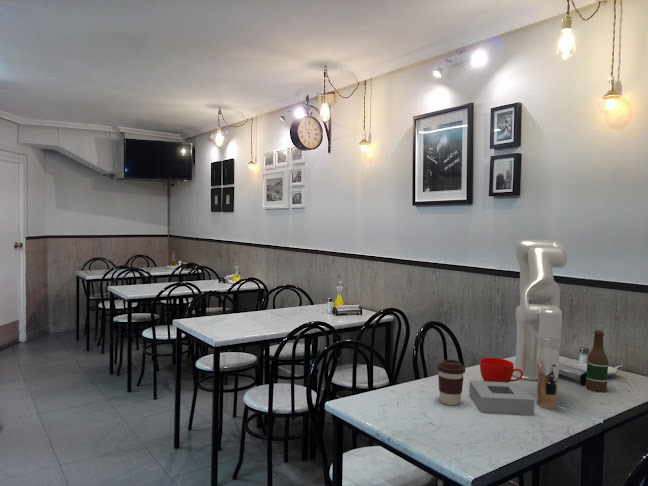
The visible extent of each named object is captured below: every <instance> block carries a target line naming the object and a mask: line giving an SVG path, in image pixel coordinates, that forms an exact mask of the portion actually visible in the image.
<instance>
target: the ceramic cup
mask: <svg viewBox="0 0 648 486" xmlns="http://www.w3.org/2000/svg"><path fill="white" fill-rule="evenodd" d="M514 367H515V364H514V362H513V361H510V360H507V359H504V358H497V357H484V358H481V359H480V361H479V369H480V376H481V378H482V380H483V381H486V382H507V383H514V382H517V381H519V380H521V378H522V377H523V372H522V370H520V369H515V368H514ZM514 371H520V372H521V376H520V377H519V378H515V379H512V377H513V375H512V374H513V372H514Z"/></svg>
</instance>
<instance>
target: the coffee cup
mask: <svg viewBox="0 0 648 486" xmlns="http://www.w3.org/2000/svg"><path fill="white" fill-rule="evenodd" d="M436 369H437V371H438V391H439V401H440V402H441V403H442V404H443V405H448V406H458V405H459V404H460V403H461V397H462V393H463V385H464V374H465V373H466V366H464V365H463V364H462V362H461V361H459V360H456V359H443V360H442V361H441V362H440V363H438V364H437V368H436Z"/></svg>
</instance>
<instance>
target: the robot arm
mask: <svg viewBox="0 0 648 486" xmlns="http://www.w3.org/2000/svg"><path fill="white" fill-rule="evenodd" d="M515 255H516V260H517V263H518V266H519V296H520V299H519V300H520V301H519V302H520V303H519V305H517V307H515V323H516V342H515V343H516V344H515V345H516V346H515V347H516V348H515V364H514V369H520V370H522V372H523V377H522V378H521V379H522V380H525V381H538V371H539V372H541V373H542V374H543V375H545V376H547V383H546V394H547V395H555V394H556V384H557V385H558V380H559V373H560V349H561V347H562V345H561V344H562V343H561V341H562V327H563V326H562V324H563V311H562V310H561V309H560V308H561V307H560V306H561V305H560V302H561V301H560V300H561V298H560V297H561V295H560V294H561V293H560V286H559V284H558V282H556V281H555V279H554V271H553V269H554V268H555V269H556V268H557V269H558V268H559V269H560V268H561V269H562V268H565V267H566V266H567V263H568V254H567V250H566V248H565V247H564V245H563V244H562V243H561V242H560V241H558V240H553V239H547V240H546V239H522V240H519V241H517V243H516V245H515ZM529 302H541V303H546V304H537V303H535V304H534V303H529ZM536 328H538V330H536ZM549 374H553V375H549ZM520 376H521V372H520V371H514V372H513V374H512V377H515V378H516V379H518V378H519V377H520ZM550 377H552V378H551V379H550ZM521 379H520V380H521ZM556 382H557V383H556Z"/></svg>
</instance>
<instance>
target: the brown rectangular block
mask: <svg viewBox="0 0 648 486" xmlns="http://www.w3.org/2000/svg"><path fill="white" fill-rule="evenodd" d="M549 375H553V374H549ZM551 378H552V377H550V379H551ZM546 383H547V376H545V375H543V374H542V373H541V372H539V371H538V380H537V392H536V404H537V405H538V407H540V408H541V409H547V408H550V409H551V410H552V409H553V410H557V398H558V397H557V394H558V381H557V382H556V383H557V384H556V394H555V395H547V394H546ZM550 409H549V410H550Z"/></svg>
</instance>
